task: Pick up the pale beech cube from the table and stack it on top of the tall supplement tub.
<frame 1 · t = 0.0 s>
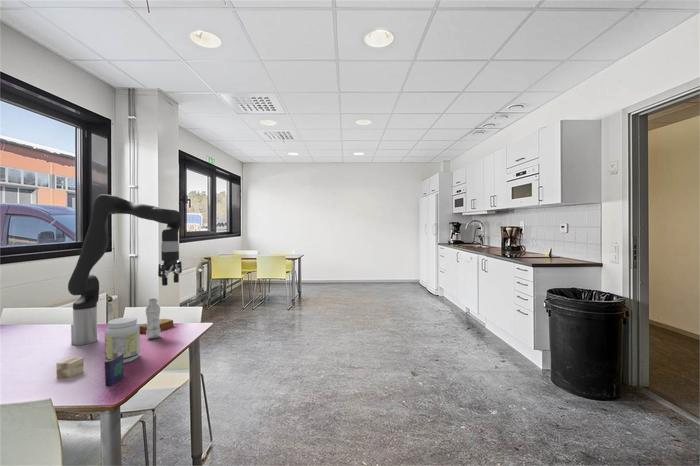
hand: (170, 283, 156), 29 cm above the table, tool pointing down, fingers open, 8 cm apart
beech cube: (70, 374, 123), on the table
carton: (155, 330, 180), on the table
plastic bottle: (153, 338, 165), on the table
flask: (115, 381, 118), on the table
supplement tub: (122, 359, 138), on the table
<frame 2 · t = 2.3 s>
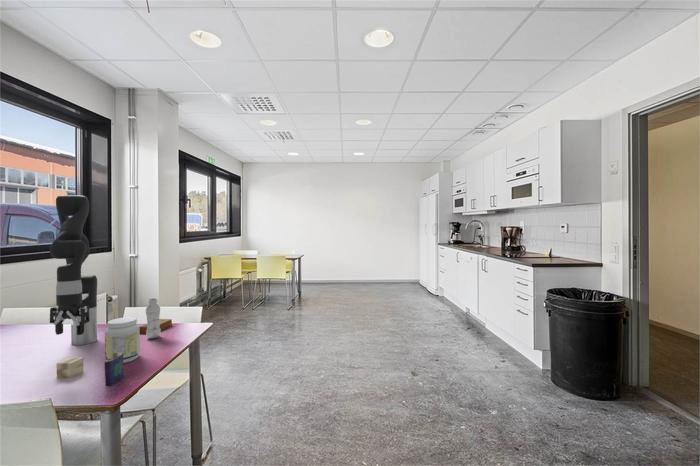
hand: (69, 334, 123), 15 cm above the table, tool pointing down, fingers open, 8 cm apart
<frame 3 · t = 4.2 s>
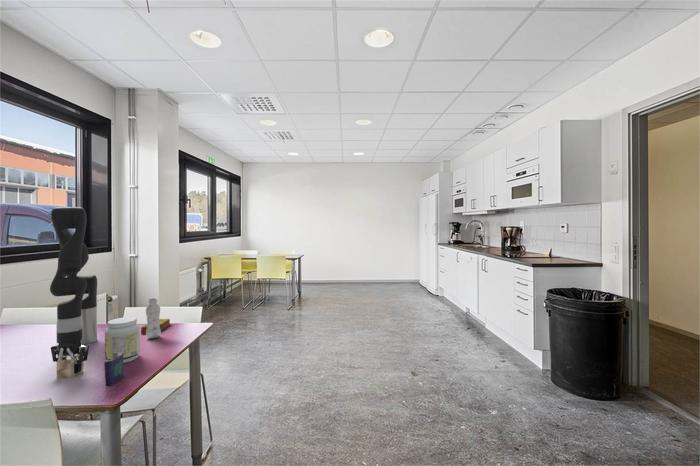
hand: (70, 372, 123), 1 cm above the table, tool pointing down, fingers closed on beech cube, 5 cm apart
beech cube: (70, 374, 123), on the table, touching gripper
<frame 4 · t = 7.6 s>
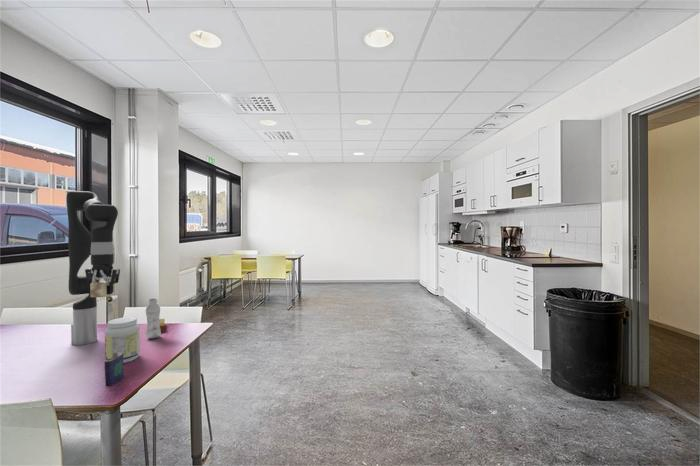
hand: (102, 293, 132), 29 cm above the table, tool pointing down, fingers closed on beech cube, 5 cm apart
beech cube: (102, 295, 132), point 28 cm above the table, touching gripper
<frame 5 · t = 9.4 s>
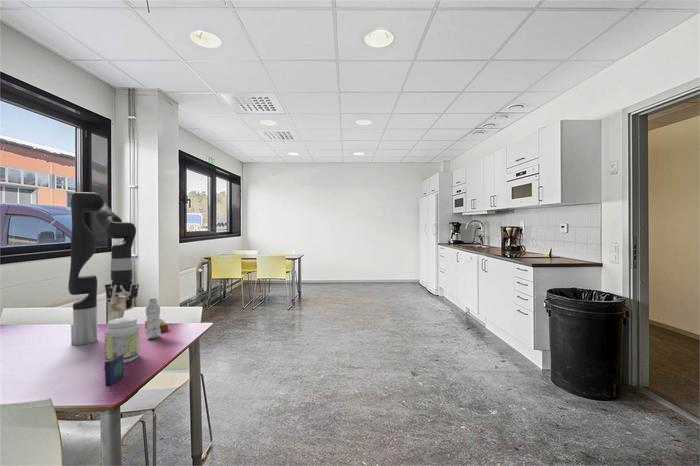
hand: (122, 307, 138), 22 cm above the table, tool pointing down, fingers closed on beech cube, 5 cm apart
beech cube: (122, 309, 137), point 21 cm above the table, touching gripper
when the fingers open (19 cm above the table, at t = 10.9 s): beech cube drops 1 cm, resting on supplement tub.
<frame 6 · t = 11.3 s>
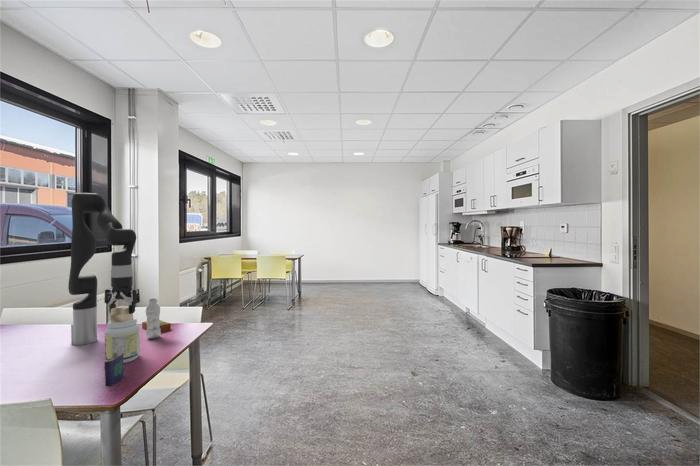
hand: (122, 313, 138), 20 cm above the table, tool pointing down, fingers open, 8 cm apart
beech cube: (122, 320, 137), point 17 cm above the table, touching supplement tub
supplement tub: (122, 359, 138), on the table, touching beech cube
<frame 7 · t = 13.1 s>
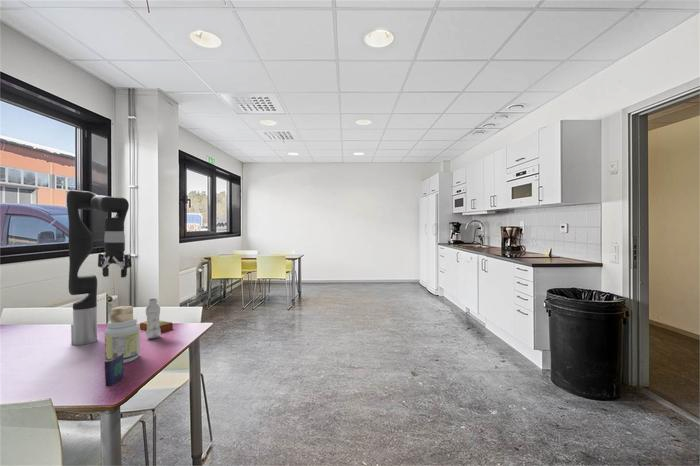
hand: (114, 276, 145), 34 cm above the table, tool pointing down, fingers open, 8 cm apart
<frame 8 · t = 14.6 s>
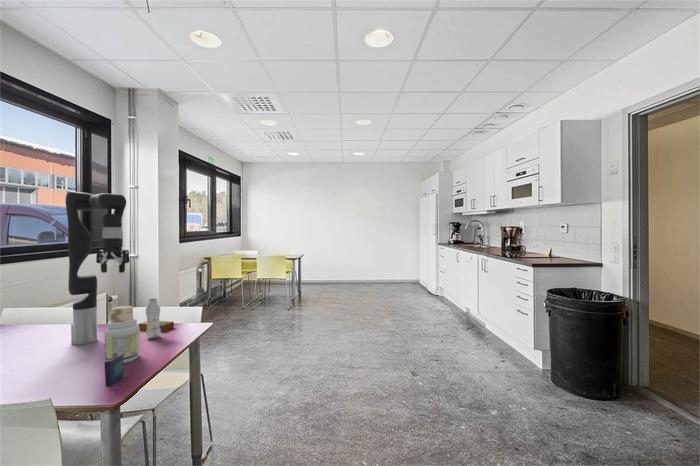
hand: (113, 272, 147), 36 cm above the table, tool pointing down, fingers open, 8 cm apart
at the end: beech cube point 16.8 cm above the table; beech cube 0.1 cm from the supplement tub (horizontally); beech cube tilted 0° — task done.
